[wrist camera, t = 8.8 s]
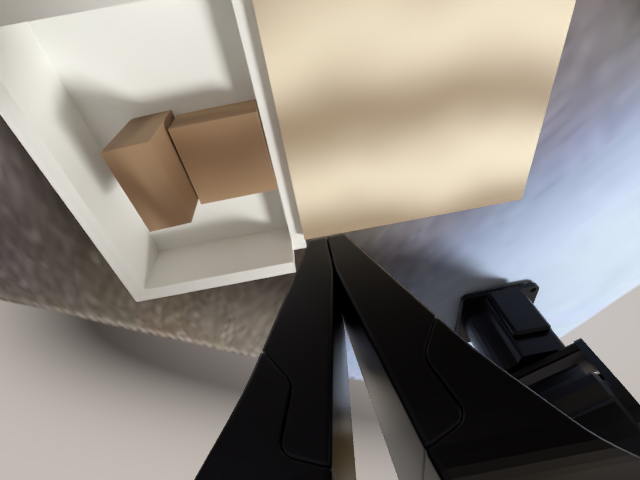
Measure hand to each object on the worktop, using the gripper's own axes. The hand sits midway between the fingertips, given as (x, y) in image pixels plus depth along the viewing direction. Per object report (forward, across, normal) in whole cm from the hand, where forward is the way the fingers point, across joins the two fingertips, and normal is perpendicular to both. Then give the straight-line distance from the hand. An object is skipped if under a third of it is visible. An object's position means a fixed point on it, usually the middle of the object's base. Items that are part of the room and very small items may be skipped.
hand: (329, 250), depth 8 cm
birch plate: (+12, -6, +1) cm, 13 cm away
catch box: (+12, +6, +1) cm, 13 cm away
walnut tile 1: (+9, +6, +1) cm, 11 cm away
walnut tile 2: (+11, +4, +1) cm, 12 cm away
